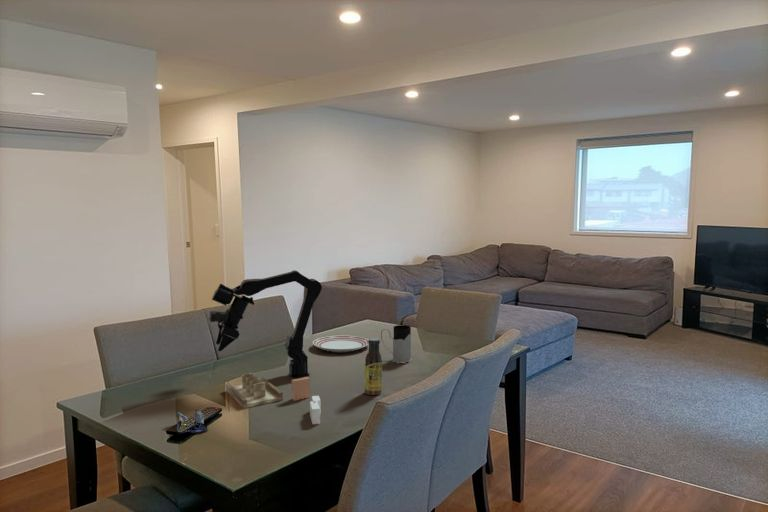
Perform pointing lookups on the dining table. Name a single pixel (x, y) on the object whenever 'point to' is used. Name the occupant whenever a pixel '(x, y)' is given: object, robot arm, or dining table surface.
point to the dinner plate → (340, 343)
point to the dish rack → (254, 391)
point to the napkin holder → (315, 409)
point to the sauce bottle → (373, 368)
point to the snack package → (197, 421)
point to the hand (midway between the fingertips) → (218, 347)
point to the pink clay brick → (300, 388)
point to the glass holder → (401, 343)
